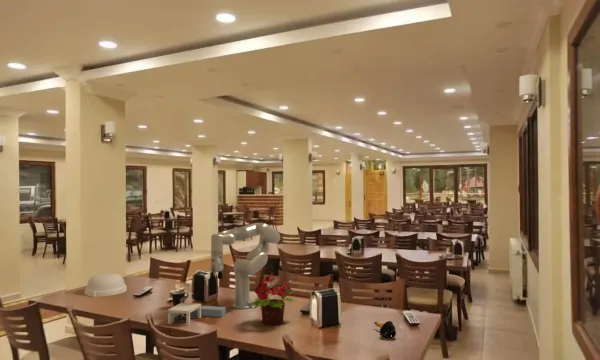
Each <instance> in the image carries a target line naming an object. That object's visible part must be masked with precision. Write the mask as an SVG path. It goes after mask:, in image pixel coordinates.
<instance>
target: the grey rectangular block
mask: <svg viewBox="0 0 600 360" xmlns="http://www.w3.org/2000/svg"><path fill="white" fill-rule="evenodd" d="M226 315H227V307H226V306H215V305H213V306H212V305H201V317H211V318H223V317H224V316H226ZM190 316H194V317H195V316H197V317H198V308H197V309H196V310H194V311H193V312H191V313H190Z"/></svg>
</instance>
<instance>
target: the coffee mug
mask: <svg viewBox="0 0 600 360" xmlns="http://www.w3.org/2000/svg"><path fill="white" fill-rule="evenodd" d="M185 296H186V297H185ZM171 297H172V305H173V306H172V307H174V306H176V305H178V304H180V303H185V302H186V300H187V299H188V297H189V293H188V292H186V291H185V290H176V291H173V292H171Z"/></svg>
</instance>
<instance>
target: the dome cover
mask: <svg viewBox="0 0 600 360" xmlns="http://www.w3.org/2000/svg"><path fill="white" fill-rule="evenodd" d="M127 290H128V289H127V285H126V284H125V280H124V278H123V276H122V275H121V274H119V273H116V272H102V273H101V272H100V273H97V274H94V275H93V276H91V277H90V278H89V280H88V281H87V284H86V288H84V295H85V296H88V297H93V298H95V297H107V296H115V295H118V294H123V293H125V292H127Z"/></svg>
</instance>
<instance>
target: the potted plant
mask: <svg viewBox="0 0 600 360" xmlns="http://www.w3.org/2000/svg"><path fill="white" fill-rule="evenodd" d="M272 276H274V273H273V272H272V271H271V273H270V274H269V275H266V276H264V277H263V278H262V280H261V282H259V283H258V284H257V286H256V288H255V290H254V292H255V294H256V296H257V298H255V299H254V301H255V302H253V304H254V305H252V307H253V306H254V307H253V310H256V309H257V308H258V307H260V311H261V318H262V321H261V322H262V323H261V324H262V325H264V326H267V325H268V327H275V326H277V327H278V326H280V325H283V324H284V316H285V315H284V313H285V306H286V305H285V301H287V302H288V303H291V302H292V303H293V302H297V300H296V299H294V298H292V297H288V296H289V295H290V294H292V293H294V291H293V290H292V289H291V288H290V285H289V283H288V281H287V280H286V279H285V278H284V281H280V283H281V284H283V285H281V284H279V285H277V286H273V284H272V282H273V281H275V280H276V278H275V277H272ZM268 283H270V285H271V287H272V289H271V287H270V286H268ZM286 288H287V289H289V290H290V292H288V293H286ZM275 295H276V296H275ZM272 296H275V298H272ZM270 297H271V299H270ZM278 298H279V299H278Z"/></svg>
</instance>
